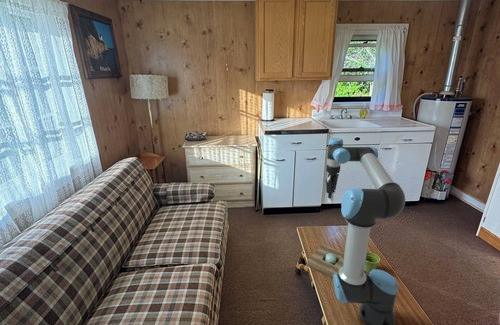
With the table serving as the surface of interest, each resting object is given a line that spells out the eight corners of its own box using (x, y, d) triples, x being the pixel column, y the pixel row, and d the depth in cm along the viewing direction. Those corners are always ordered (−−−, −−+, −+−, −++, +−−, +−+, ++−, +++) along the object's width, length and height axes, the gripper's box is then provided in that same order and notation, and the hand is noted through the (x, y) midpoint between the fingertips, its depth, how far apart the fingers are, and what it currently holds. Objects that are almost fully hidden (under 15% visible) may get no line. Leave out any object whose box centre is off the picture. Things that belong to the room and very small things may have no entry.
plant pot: (379, 276, 148) (382, 263, 145) (361, 274, 150) (363, 261, 147) (375, 265, 156) (377, 253, 154) (358, 263, 158) (360, 251, 155)
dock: (339, 282, 144) (340, 276, 143) (306, 265, 157) (307, 260, 155) (353, 262, 159) (354, 257, 157) (322, 249, 171) (322, 244, 170)
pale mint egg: (333, 268, 153) (333, 261, 152) (323, 263, 157) (324, 256, 156) (337, 263, 158) (338, 256, 156) (327, 258, 161) (328, 251, 160)
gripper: (335, 169, 144) (331, 208, 152) (344, 163, 153) (340, 200, 161) (322, 166, 149) (319, 204, 156) (332, 161, 158) (328, 196, 166)
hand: (329, 202), depth 159 cm, fingers closed
